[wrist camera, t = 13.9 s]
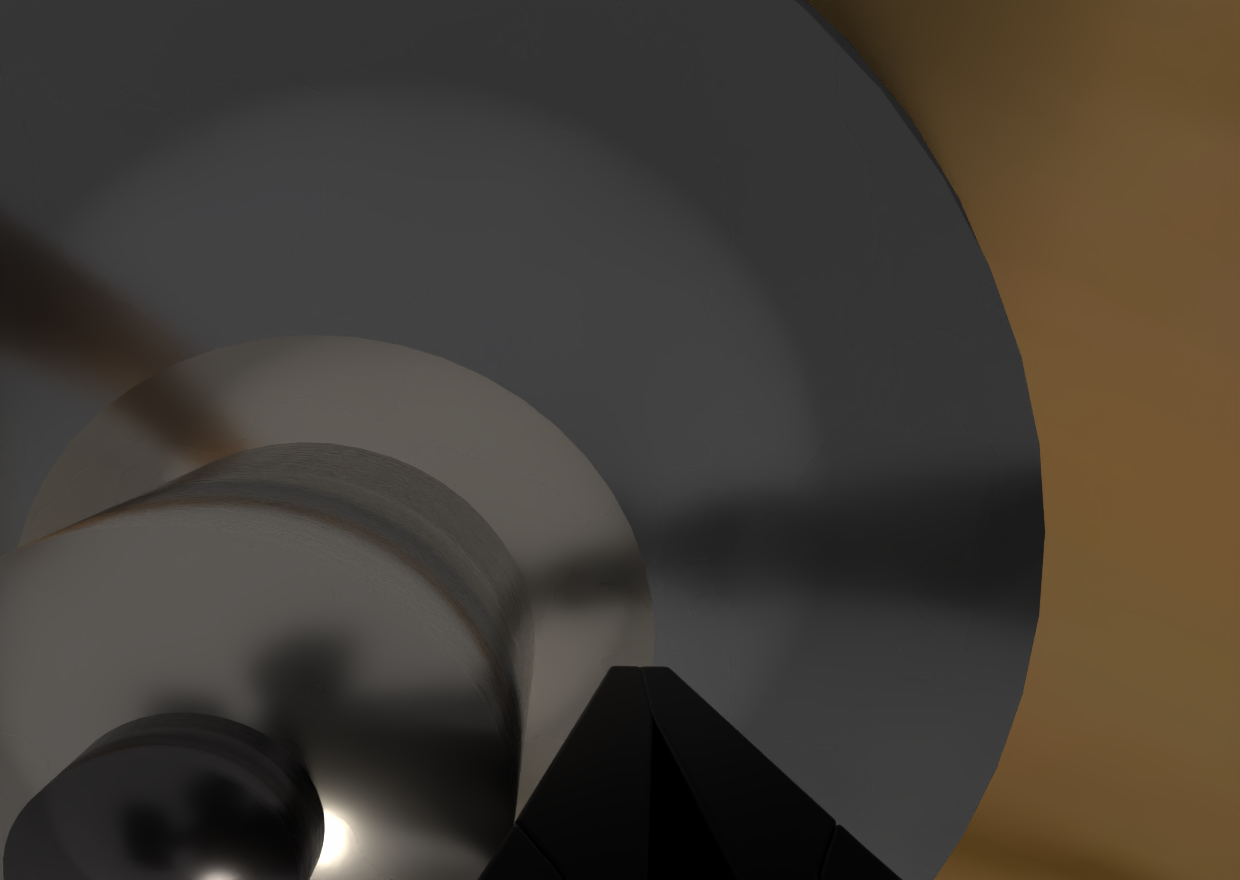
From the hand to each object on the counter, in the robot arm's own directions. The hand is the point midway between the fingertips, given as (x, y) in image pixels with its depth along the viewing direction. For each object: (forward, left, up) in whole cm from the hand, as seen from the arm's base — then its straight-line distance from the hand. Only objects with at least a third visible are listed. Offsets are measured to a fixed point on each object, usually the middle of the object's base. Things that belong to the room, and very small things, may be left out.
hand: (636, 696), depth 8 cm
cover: (+3, -3, -1) cm, 5 cm away
